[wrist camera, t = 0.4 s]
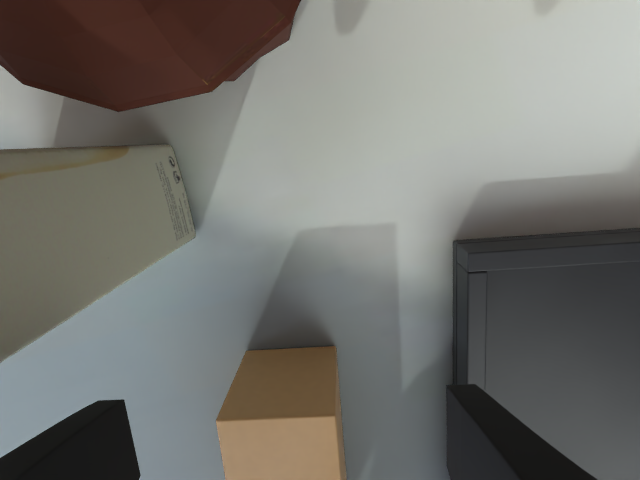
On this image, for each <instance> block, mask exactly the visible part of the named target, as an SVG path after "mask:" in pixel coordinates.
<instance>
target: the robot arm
mask: <svg viewBox="0 0 640 480" xmlns="http://www.w3.org/2000/svg"><path fill="white" fill-rule="evenodd" d="M446 399H447V468H448V471H449V475H450V479H451V480H598V479H596V478H595V477H593V476H592V475H590V474H589V473H588V472H586V471H585V470H583V469H582V468H581V467H579V466H578V465H577V464H575V463H574V462H573V461H571V460H570V459H569V458H567V457H566V456H565V455H563V454H562V453H561V452H559V451H558V450H557V449H555V448H554V447H553V446H551V445H550V444H549V443H548V442H546V441H545V440H544V439H543V438H541V437H540V436H539V435H537V434H536V433H535V432H534V431H532V430H531V429H530V428H529V427H527V426H526V425H525V424H524V423H522V422H521V421H520V420H519V419H518V418H516V417H515V416H514V415H513V414H511V413H510V412H509V411H508V410H507V409H505V408H504V407H503V406H502V405H501V404H499V403H498V402H497V401H496V400H495V399H493V398H492V397H491V396H490V395H488V394H487V393H486V392H485V391H484V390H482V389H481V388H480V387H479V386H477V385H476V384H463V385H446ZM139 478H140V471H139V466H138V461H137V457H136V452H135V448H134V443H133V438H132V434H131V429H130V425H129V420H128V416H127V411H126V406H125V402H124V400H103V401H97V402H95V403H93V404H91V405H89V406H87V407H85V408H83V409H81V410H79V411H78V412H76V413H74V414H72V415H71V416H69V417H67V418H66V419H64V420H62V421H60V422H59V423H57V424H55V425H54V426H52V427H50V428H49V429H47V430H46V431H44V432H42V433H41V434H39V435H37V436H36V437H34V438H32V439H31V440H29V441H27V442H26V443H24V444H23V445H21V446H19V447H18V448H16V449H14V450H13V451H11V452H9V453H8V454H6V455H4V456H3V457H1V458H0V480H139Z"/></svg>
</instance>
